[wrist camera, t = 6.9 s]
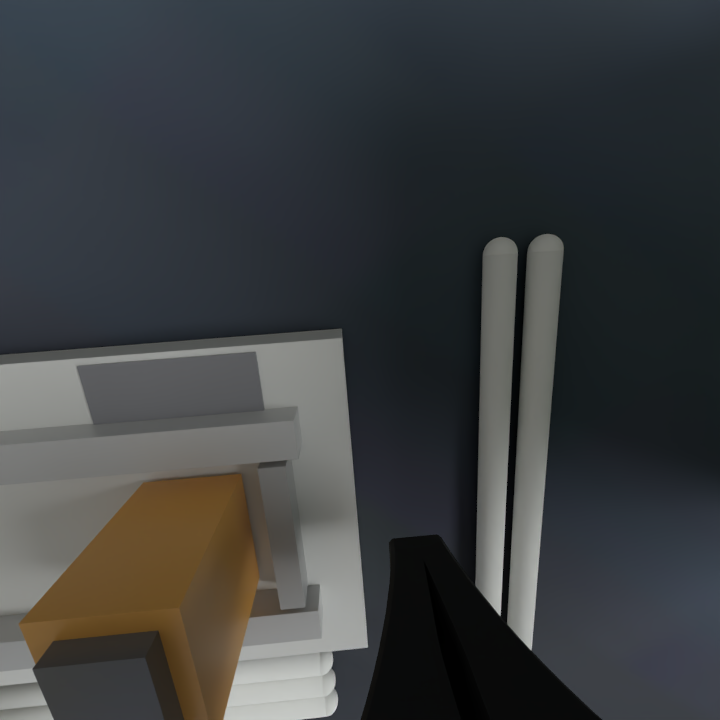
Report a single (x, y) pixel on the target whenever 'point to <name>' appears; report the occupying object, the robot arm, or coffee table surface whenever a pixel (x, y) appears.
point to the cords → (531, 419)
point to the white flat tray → (186, 471)
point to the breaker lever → (151, 608)
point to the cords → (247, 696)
